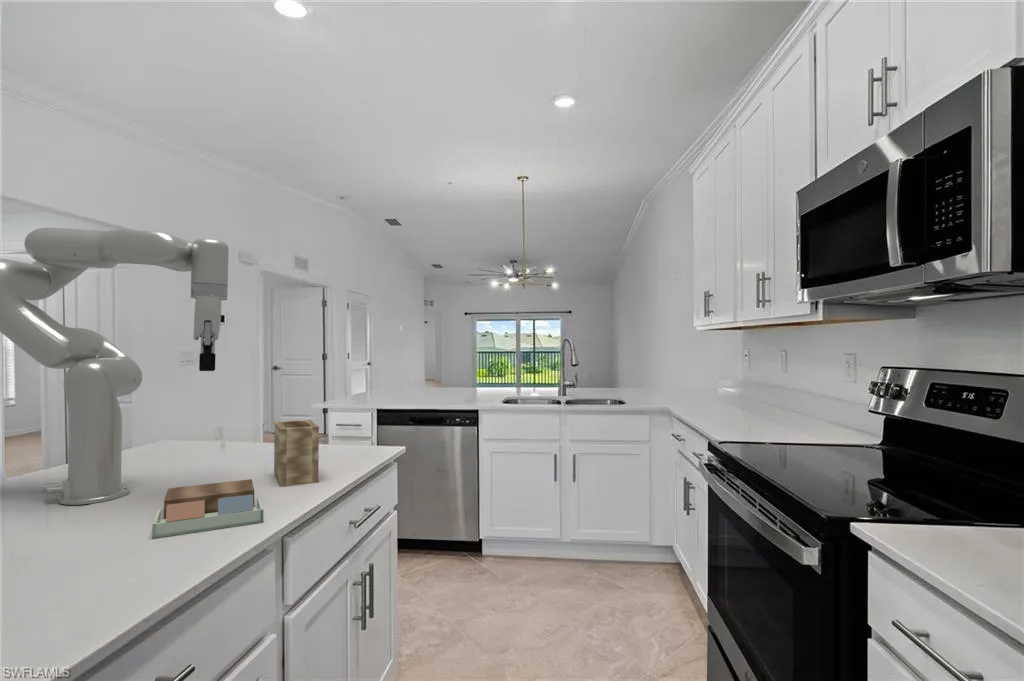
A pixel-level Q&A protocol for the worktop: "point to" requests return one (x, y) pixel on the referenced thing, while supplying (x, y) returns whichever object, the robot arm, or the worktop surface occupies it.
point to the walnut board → (208, 493)
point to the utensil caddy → (296, 452)
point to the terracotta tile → (185, 510)
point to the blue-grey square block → (235, 504)
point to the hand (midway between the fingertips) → (207, 370)
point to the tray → (206, 522)
